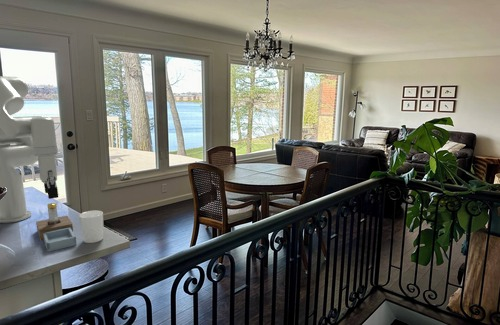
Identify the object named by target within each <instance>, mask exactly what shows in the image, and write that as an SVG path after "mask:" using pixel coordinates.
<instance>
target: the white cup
mask: <svg viewBox="0 0 500 325" xmlns="http://www.w3.org/2000/svg"><path fill="white" fill-rule="evenodd" d="M78 216H79V223H80V230H81V234H82V237H83V242H84V243H86V244H95V243H97V242H100V241H102V240H103V239H104V212H103V211H102V210H97V209H96V210H88V211H83V212H81V213H80V214H79V215H78Z"/></svg>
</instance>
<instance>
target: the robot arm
mask: <svg viewBox="0 0 500 325" xmlns="http://www.w3.org/2000/svg"><path fill="white" fill-rule="evenodd" d="M28 92H29V88H28V84H27V83H26V81H25V80H23V78H21V77H18V76H5V75H4V76H2V75H0V187H6V188H7V193H6V195H5V196H4V198H3V199H2V200H0V223H1V224H4V223H5V224H8V223H16V222H20V221H24V220H26V219H28V218H30V217H31V216H32V211H29V210H27V204H26V194H25V188H24V181H23V180H24V179H23V177H22V174H21V173H19V172H18V171H17V170H16V169H15V168H19V167H25V166H30V165H34V164H36V163H38V171H39V172H38V173H39V180H40V181H41V183H43V187H44V193H45V194H47V197H48V199H49V200H50V199H57V198H59V191H58V190H59V189H58V186H57V181H58V172H57V171H58V170H57V162H56V157H55V156H56V155H58V154H59V153H58V145H57V144H58V143H57V137H56V128H55V122H54V119H53V118H52V117H44V116H43V117H42V116H22V117H21V116H19V117H12V115H15V114H17V113H18V112H20V111H21V110H22V109H23V108H24V106H25V101H24V98H25V97H26V96H28V95H27V94H28Z"/></svg>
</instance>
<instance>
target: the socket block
mask: <svg viewBox="0 0 500 325" xmlns="http://www.w3.org/2000/svg"><path fill="white" fill-rule="evenodd" d="M58 222H59V223H58V224H53V225H50V222H49V218H46V219H42V220H36V221H35V223H36V225H35V226H36V231H37V232H36V233H37V234H38V238H39V240H40V241H44V238H43V233H46V232H51V231H56V230H60V229H65V228H71V230H72V231H73V232H74V226H73V223H72V220H71V218H69V216H68V215H63V216H58Z"/></svg>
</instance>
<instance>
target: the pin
mask: <svg viewBox="0 0 500 325" xmlns="http://www.w3.org/2000/svg"><path fill="white" fill-rule="evenodd" d="M47 211H48V213H47V214H48V219H49V222H50V225H53V224H58V223H59V222H58V217H59V214H58V205H57V202H51V203H48V204H47Z"/></svg>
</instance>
